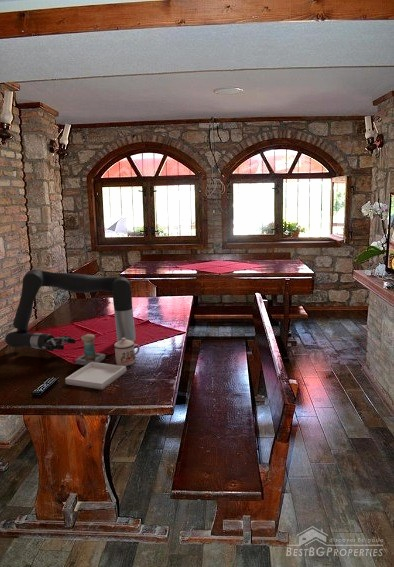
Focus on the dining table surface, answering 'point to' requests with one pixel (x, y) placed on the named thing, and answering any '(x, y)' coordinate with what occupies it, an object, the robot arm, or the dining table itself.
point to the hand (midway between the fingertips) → (69, 344)
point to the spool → (89, 346)
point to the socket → (85, 362)
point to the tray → (96, 375)
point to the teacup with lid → (125, 352)
